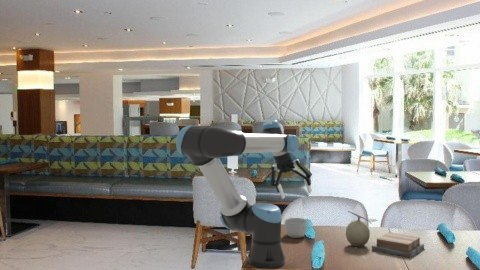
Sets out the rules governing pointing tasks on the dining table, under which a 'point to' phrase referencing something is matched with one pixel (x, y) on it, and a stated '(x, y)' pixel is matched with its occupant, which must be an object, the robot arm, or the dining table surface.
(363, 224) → the fruit
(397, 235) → the stand
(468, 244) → the dining table surface
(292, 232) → the teacup
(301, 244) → the dining table surface
